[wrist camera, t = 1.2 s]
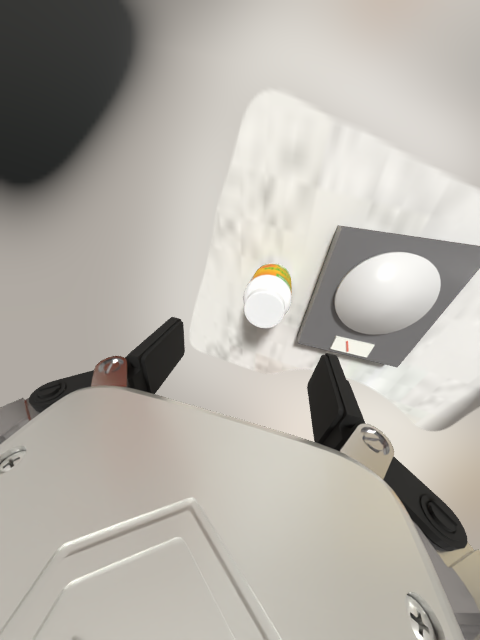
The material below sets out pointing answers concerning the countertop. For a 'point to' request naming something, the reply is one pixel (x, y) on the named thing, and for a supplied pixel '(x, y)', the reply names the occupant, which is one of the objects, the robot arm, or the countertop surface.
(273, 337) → the countertop surface
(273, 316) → the supplement bottle
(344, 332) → the scale
